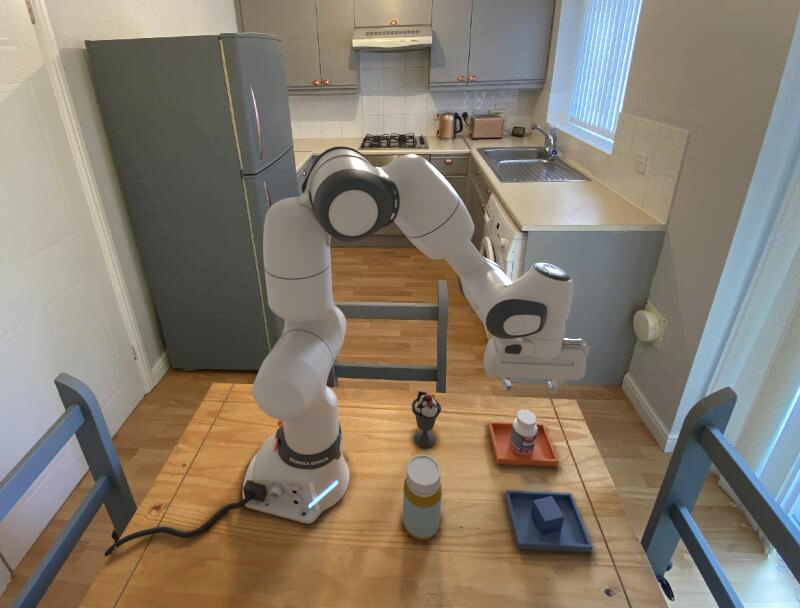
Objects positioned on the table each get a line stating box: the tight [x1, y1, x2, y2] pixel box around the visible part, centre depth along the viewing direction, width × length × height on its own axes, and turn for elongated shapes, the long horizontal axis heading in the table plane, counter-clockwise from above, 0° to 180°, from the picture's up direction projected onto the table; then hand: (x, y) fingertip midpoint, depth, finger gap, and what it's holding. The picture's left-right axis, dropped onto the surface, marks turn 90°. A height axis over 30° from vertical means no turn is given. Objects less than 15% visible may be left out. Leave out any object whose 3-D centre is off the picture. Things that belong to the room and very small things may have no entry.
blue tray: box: [504, 489, 593, 554], centre depth 81 cm, size 13×10×2 cm
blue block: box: [531, 496, 564, 535], centre depth 80 cm, size 4×4×4 cm
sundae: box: [411, 390, 442, 449], centre depth 96 cm, size 7×7×15 cm
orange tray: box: [487, 421, 560, 467], centre depth 96 cm, size 13×10×2 cm
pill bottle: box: [510, 409, 537, 455], centre depth 95 cm, size 5×5×9 cm
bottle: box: [402, 453, 443, 541], centre depth 79 cm, size 7×7×15 cm
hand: (528, 390), depth 90 cm, fingers open, 8 cm apart
